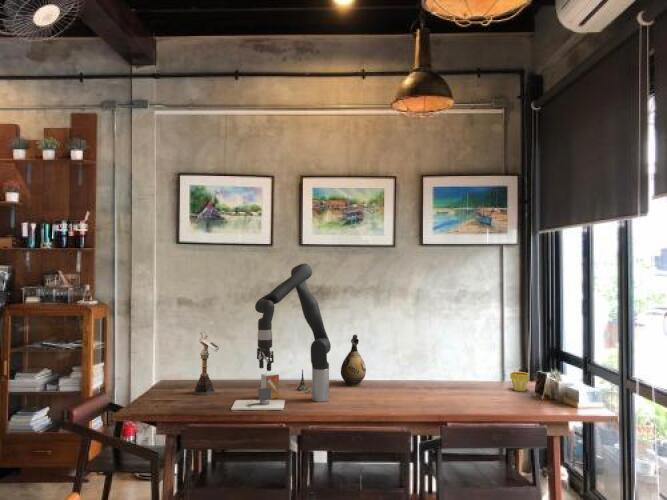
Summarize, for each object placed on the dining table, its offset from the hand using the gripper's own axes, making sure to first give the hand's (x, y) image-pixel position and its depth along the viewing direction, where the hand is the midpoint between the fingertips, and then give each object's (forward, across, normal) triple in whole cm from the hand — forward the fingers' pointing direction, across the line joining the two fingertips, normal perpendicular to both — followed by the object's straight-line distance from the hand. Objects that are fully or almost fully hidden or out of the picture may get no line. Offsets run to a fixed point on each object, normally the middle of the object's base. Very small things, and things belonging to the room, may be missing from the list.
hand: (265, 369), depth 289 cm
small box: (+20, -16, +11) cm, 28 cm away
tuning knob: (+18, -1, -3) cm, 18 cm away
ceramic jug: (+20, -17, +69) cm, 74 cm away
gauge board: (+20, -2, -2) cm, 20 cm away
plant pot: (+21, +50, +141) cm, 151 cm away
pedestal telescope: (+19, -46, -12) cm, 51 cm away
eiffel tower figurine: (+20, -21, +36) cm, 46 cm away
